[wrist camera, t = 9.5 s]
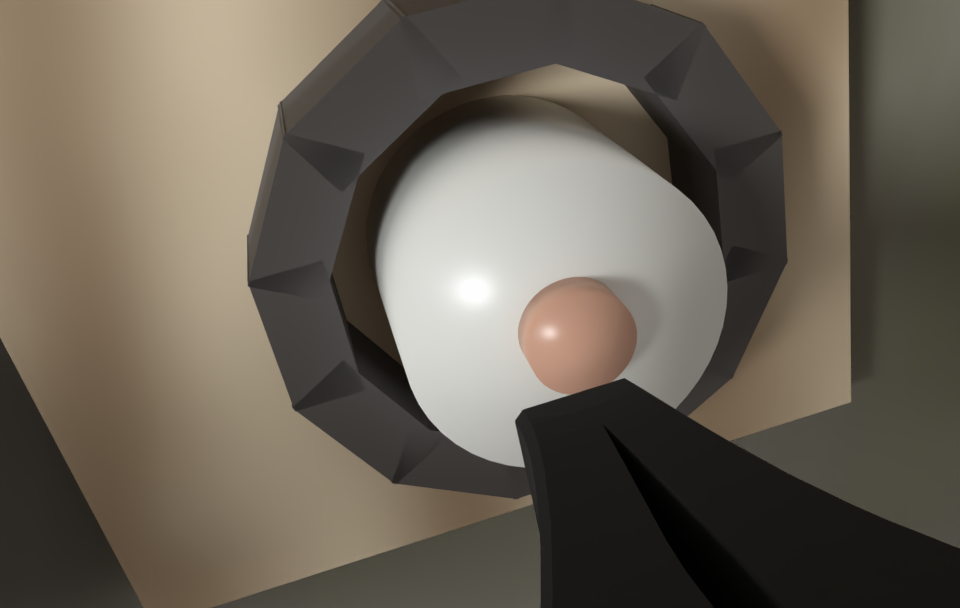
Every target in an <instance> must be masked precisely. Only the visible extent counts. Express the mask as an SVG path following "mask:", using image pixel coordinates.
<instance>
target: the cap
mask: <svg viewBox="0 0 960 608" xmlns="http://www.w3.org/2000/svg"><path fill="white" fill-rule="evenodd" d="M367 248H368V255H369V261H370V264H371V268H372V271H373V274H374V278H375V281H376V284H377V287H378V290H379V293H380V296H381V299H382V302H383V305H384V308H385V311H386V314H387V317H388V320H389V323H390V326H391V329H392V332H393V336H394V339H395V342H396V345H397V348H398V351H399V354H400V357H401V360H402V363H403V366H404V369H405V372H406V375H407V378H408V381H409V384H410V387H411V389H412V391H413V393H414V396H415V398H416V400H417V402H418V404H419V405H420V407H421V408H422V410H423V411H424V413H425V414H426V416H427V417H428V419H429V420H430V421H431V422H432V423H433V424H434V425H435V426H436V427H437V428H438V429H439V431H440V432H441V433H442V434H444V435H445V436H446V437H448V438H449V439H450V440H451V441H453V442H454V443H455V444H456V445H458V446H460V447H462V448H463V449H465V450H467V451H469V452H470V453H472V454H474V455H477V456H479V457H482V458H484V459H487V460H489V461H493V462H497V463H501V464H504V465H508V466H516V467H524V468H525V465H524V460H523V456H522V451H521V447H520V442H519V438H518V433H517V429H516V425H515V420H516V418H517V417H518V416H519V414H520V413H521V411H522V410H523V409H526V408H530V407H533V406H536V405H539V404H543V403H546V402H549V401H552V400H555V399H559V398H562V397H565V396H568V395H571V394H575V393H578V392H581V391H584V390H587V389H591V388H594V387H597V386H600V385H604V384H607V383H610V382H613V381H616V380H620V379H623V378H625V379H627V380H629V381H630V382H632V383H634V384H635V385H637V386H639V387H640V388H642V389H644V390H645V391H647V392H649V393H650V394H652V395H654V396H655V397H657V398H658V399H660V400H662V401H663V402H665V403H667V404H668V405H670V406H671V407H673V408H675V409H676V408H677V407H678V405H679V404H680V403H681V402H682V401H683V400H684V399H685V398H686V397H687V396H688V394H689V393H690V392H691V390H692V389H693V387H694V386H695V385H696V383H697V382H698V381H699V379H700V378H701V376H702V374H703V372H704V371H705V369H706V367H707V366H708V364H709V362H710V360H711V358H712V355H713V353H714V351H715V349H716V346H717V344H718V341H719V337H720V334H721V331H722V328H723V324H724V318H725V312H726V307H727V277H726V267H725V263H724V259H723V255H722V251H721V248H720V246H719V243H718V241H717V238H716V236H715V233H714V231H713V230H712V228H711V226H710V225H709V223H708V221H707V220H706V218H705V216H704V215H703V214H702V213H701V212H700V210H699V209H698V208H697V207H696V206H695V204H694V203H693V202H692V201H691V200H690V199H689V198H687V197H686V196H685V195H684V194H683V193H682V192H680V191H679V190H678V189H677V188H676V187H674V186H673V185H672V184H670V183H669V182H668V181H666V180H665V179H664V178H662V177H661V176H660V175H658V174H657V173H656V172H654V171H653V170H652V169H650V168H649V167H648V166H646V165H645V164H644V163H642V162H641V161H640V160H638V159H637V158H636V157H634V156H633V155H631V154H630V153H629V152H627V151H626V150H625V149H623V148H622V147H621V146H619V145H618V144H617V143H615V142H614V141H613V140H611V139H610V138H609V137H607V136H606V135H605V134H603V133H602V132H601V131H599V130H598V129H597V128H595V127H594V126H593V125H591V124H590V123H589V122H587V121H586V120H585V119H583V118H582V117H580V116H579V115H577V114H575V113H574V112H572V111H571V110H569V109H567V108H565V107H562V106H560V105H558V104H556V103H553V102H550V101H546V100H543V99H539V98H534V97H527V96H519V95H505V96H494V97H487V98H481V99H477V100H474V101H470V102H467V103H463V104H461V105H459V106H456V107H454V108H452V109H449V110H447V111H445V112H443V113H442V114H440V115H438V116H437V117H435V118H433V119H431V120H430V121H429V122H427V123H426V124H425V125H423V126H422V127H421V128H420V129H418V130H417V131H416V132H415V133H414V134H413V135H412V136H411V137H410V138H408V139H407V140H406V141H405V142H404V143H403V144H402V146H401V147H400V148H399V149H398V151H397V152H396V153H395V155H394V156H393V157H392V158H391V160H390V161H389V163H388V165H387V166H386V168H385V170H384V172H383V173H382V175H381V177H380V179H379V182H378V184H377V186H376V189H375V191H374V194H373V198H372V201H371V205H370V208H369V214H368V222H367Z"/></svg>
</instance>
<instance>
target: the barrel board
mask: <svg viewBox="0 0 960 608" xmlns="http://www.w3.org/2000/svg"><path fill="white" fill-rule="evenodd" d="M505 95H519V96H527V97H534V98H539V99H543V100H546V101H550V102H553V103H556V104H558V105H560V106H562V107H565V108H567V109H569V110H571V111H572V112H574V113H575V114H577V115H579V116H580V117H582V118H583V119H585V120H586V121H587V122H589V123H590V124H591V125H593V126H594V127H595V128H597V129H598V130H599V131H601V132H602V133H603V134H605V135H606V136H607V137H609V138H610V139H611V140H613V141H614V142H615V143H617V144H618V145H619V146H621V147H622V148H623V149H625V150H626V151H627V152H629V153H630V154H631V155H633V156H634V157H636V158H637V159H638V160H640V161H641V162H642V163H644V164H645V165H646V166H648V167H649V168H650V169H652V170H653V171H654V172H656V173H657V174H658V175H660V176H661V177H662V178H664V179H665V180H666V181H668V182H669V183H670V184H672V185H673V186H674V187H676V188H677V189H678V190H679V191H680V192H682V193H683V194H684V195H685V196H686V197H687V198H689V199H690V200H691V201H692V202H693V203H694V204H695V206H696V207H697V208H698V209H699V210H700V212H701V213H702V214H703V215H704V216H705V218H706V220H707V221H708V223H709V225H710V226H711V228H712V230H713V231H714V233H715V236H716V238H717V241H718V243H719V246H720V248H721V251H722V255H723V259H724V263H725V267H726V277H727V307H726V312H725V318H724V324H723V328H722V331H721V334H720V337H719V341H718V344H717V346H716V349H715V351H714V353H713V355H712V358H711V360H710V362H709V364H708V366H707V367H706V369H705V371H704V372H703V374H702V376H701V378H700V379H699V381H698V382H697V383H696V385H695V386H694V387H693V389H692V390H691V392H690V393H689V394H688V396H687V397H686V398H685V399H684V400H683V401H682V402H681V403H680V404H679V405H678V407H677V408H676V410H678V411H680V412H681V413H683V414H684V415H686V416H688V417H689V418H691V419H693V420H694V421H696V422H698V423H699V424H701V425H703V426H704V427H706V428H708V429H709V430H711V431H713V432H714V433H716V434H718V435H720V436H721V437H723V438H725V439H726V440H728V441H732V440H735V439H738V438H741V437H744V436H747V435H750V434H753V433H756V432H760V431H763V430H766V429H769V428H772V427H775V426H778V425H781V424H784V423H788V422H791V421H794V420H797V419H800V418H803V417H806V416H809V415H812V414H816V413H819V412H822V411H825V410H828V409H831V408H834V407H837V406H840V405H844V404H847V403H850V402H851V315H850V166H849V17H848V0H0V338H1V340H2V342H3V344H4V346H5V348H6V350H7V351H8V353H9V355H10V357H11V359H12V361H13V363H14V365H15V367H16V368H17V370H18V372H19V374H20V376H21V378H22V380H23V382H24V384H25V385H26V387H27V389H28V391H29V393H30V395H31V397H32V399H33V400H34V402H35V404H36V406H37V408H38V410H39V412H40V414H41V416H42V417H43V419H44V421H45V423H46V425H47V427H48V429H49V431H50V433H51V434H52V436H53V438H54V440H55V442H56V444H57V446H58V448H59V450H60V451H61V453H62V455H63V457H64V459H65V461H66V463H67V465H68V467H69V468H70V470H71V472H72V474H73V476H74V478H75V480H76V482H77V484H78V485H79V487H80V489H81V491H82V493H83V495H84V497H85V499H86V500H87V502H88V504H89V506H90V508H91V510H92V512H93V514H94V516H95V517H96V519H97V521H98V523H99V525H100V527H101V529H102V531H103V533H104V534H105V536H106V538H107V540H108V542H109V544H110V546H111V548H112V550H113V551H114V553H115V555H116V557H117V559H118V561H119V563H120V565H121V567H122V568H123V570H124V572H125V574H126V576H127V578H128V580H129V582H130V583H131V585H132V587H133V589H134V591H135V593H136V595H137V597H138V599H139V600H140V602H141V604H142V606H143V608H212V607H215V606H218V605H221V604H224V603H228V602H231V601H234V600H237V599H240V598H243V597H246V596H249V595H252V594H256V593H259V592H262V591H265V590H268V589H271V588H274V587H277V586H280V585H284V584H287V583H290V582H293V581H296V580H299V579H302V578H305V577H308V576H312V575H315V574H318V573H321V572H324V571H327V570H330V569H333V568H336V567H340V566H343V565H346V564H349V563H352V562H355V561H358V560H361V559H364V558H368V557H371V556H374V555H377V554H380V553H383V552H386V551H389V550H392V549H396V548H399V547H402V546H405V545H408V544H411V543H414V542H417V541H420V540H424V539H427V538H430V537H433V536H436V535H439V534H442V533H445V532H448V531H452V530H455V529H458V528H461V527H464V526H467V525H470V524H473V523H476V522H480V521H483V520H486V519H489V518H492V517H495V516H498V515H501V514H504V513H508V512H511V511H514V510H517V509H520V508H523V507H526V506H529V505H532V504H533V500H532V496H531V491H530V487H529V483H528V478H527V474H526V469H525V468H524V467H516V466H508V465H504V464H501V463H497V462H493V461H489V460H487V459H484V458H482V457H479V456H477V455H474V454H472V453H470V452H469V451H467V450H465V449H463V448H462V447H460V446H458V445H456V444H455V443H454V442H453V441H451V440H450V439H449V438H448V437H446V436H445V435H444V434H442V433H441V432H440V431H439V429H438V428H437V427H436V426H435V425H434V424H433V423H432V422H431V421H430V420H429V419H428V417H427V416H426V414H425V413H424V411H423V410H422V408H421V407H420V405H419V404H418V402H417V400H416V398H415V396H414V393H413V391H412V389H411V387H410V384H409V381H408V378H407V375H406V372H405V369H404V366H403V363H402V360H401V357H400V354H399V351H398V348H397V345H396V342H395V339H394V336H393V332H392V329H391V326H390V323H389V320H388V317H387V314H386V311H385V308H384V305H383V302H382V299H381V296H380V293H379V290H378V287H377V284H376V281H375V278H374V274H373V271H372V268H371V264H370V261H369V255H368V248H367V222H368V214H369V208H370V205H371V201H372V198H373V194H374V191H375V189H376V186H377V184H378V182H379V179H380V177H381V175H382V173H383V172H384V170H385V168H386V166H387V165H388V163H389V161H390V160H391V158H392V157H393V156H394V155H395V153H396V152H397V151H398V149H399V148H400V147H401V146H402V144H403V143H404V142H405V141H406V140H407V139H408V138H410V137H411V136H412V135H413V134H414V133H415V132H416V131H417V130H418V129H420V128H421V127H422V126H423V125H425V124H426V123H427V122H429V121H430V120H431V119H433V118H435V117H437V116H438V115H440V114H442V113H443V112H445V111H447V110H449V109H452V108H454V107H456V106H459V105H461V104H463V103H467V102H470V101H474V100H477V99H481V98H487V97H494V96H505Z"/></svg>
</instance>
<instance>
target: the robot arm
mask: <svg viewBox="0 0 960 608" xmlns="http://www.w3.org/2000/svg"><path fill="white" fill-rule="evenodd" d="M515 425H516V429H517V433H518V438H519V442H520V447H521V451H522V456H523V460H524V465H525V469H526V474H527V478H528V483H529V487H530V491H531V496H532V500H533V505H534V509H535V514H536V518H537V523H538V527H539V532H540V543H541V608H960V549H959V548H957V547H954V546H951V545H949V544H946V543H944V542H941V541H939V540H936V539H934V538H931V537H929V536H926V535H924V534H921V533H919V532H916V531H914V530H911V529H908V528H906V527H903V526H901V525H898V524H896V523H893V522H891V521H888V520H886V519H884V518H881V517H879V516H877V515H874V514H872V513H870V512H868V511H865V510H863V509H861V508H858V507H856V506H854V505H852V504H850V503H848V502H845V501H843V500H841V499H839V498H837V497H835V496H833V495H831V494H829V493H827V492H825V491H823V490H820V489H818V488H816V487H814V486H812V485H810V484H808V483H806V482H804V481H802V480H800V479H798V478H796V477H794V476H792V475H790V474H788V473H786V472H784V471H782V470H780V469H779V468H777V467H775V466H773V465H771V464H769V463H768V462H766V461H764V460H762V459H760V458H759V457H757V456H755V455H753V454H751V453H750V452H748V451H746V450H744V449H742V448H741V447H739V446H737V445H735V444H733V443H732V442H730V441H728V440H726V439H725V438H723V437H721V436H720V435H718V434H716V433H714V432H713V431H711V430H709V429H708V428H706V427H704V426H703V425H701V424H699V423H698V422H696V421H694V420H693V419H691V418H689V417H688V416H686V415H684V414H683V413H681V412H680V411H678V410H676V409H675V408H673V407H671V406H670V405H668V404H667V403H665V402H663V401H662V400H660V399H658V398H657V397H655V396H654V395H652V394H650V393H649V392H647V391H645V390H644V389H642V388H640V387H639V386H637V385H635V384H634V383H632V382H630V381H629V380H627V379H625V378H623V379H620V380H616V381H613V382H610V383H607V384H604V385H600V386H597V387H594V388H591V389H587V390H584V391H581V392H578V393H575V394H571V395H568V396H565V397H562V398H559V399H555V400H552V401H549V402H546V403H543V404H539V405H536V406H533V407H530V408H526V409H523V410H522V411H521V413H520V414H519V416H518V417H517V418H516V420H515Z"/></svg>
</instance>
